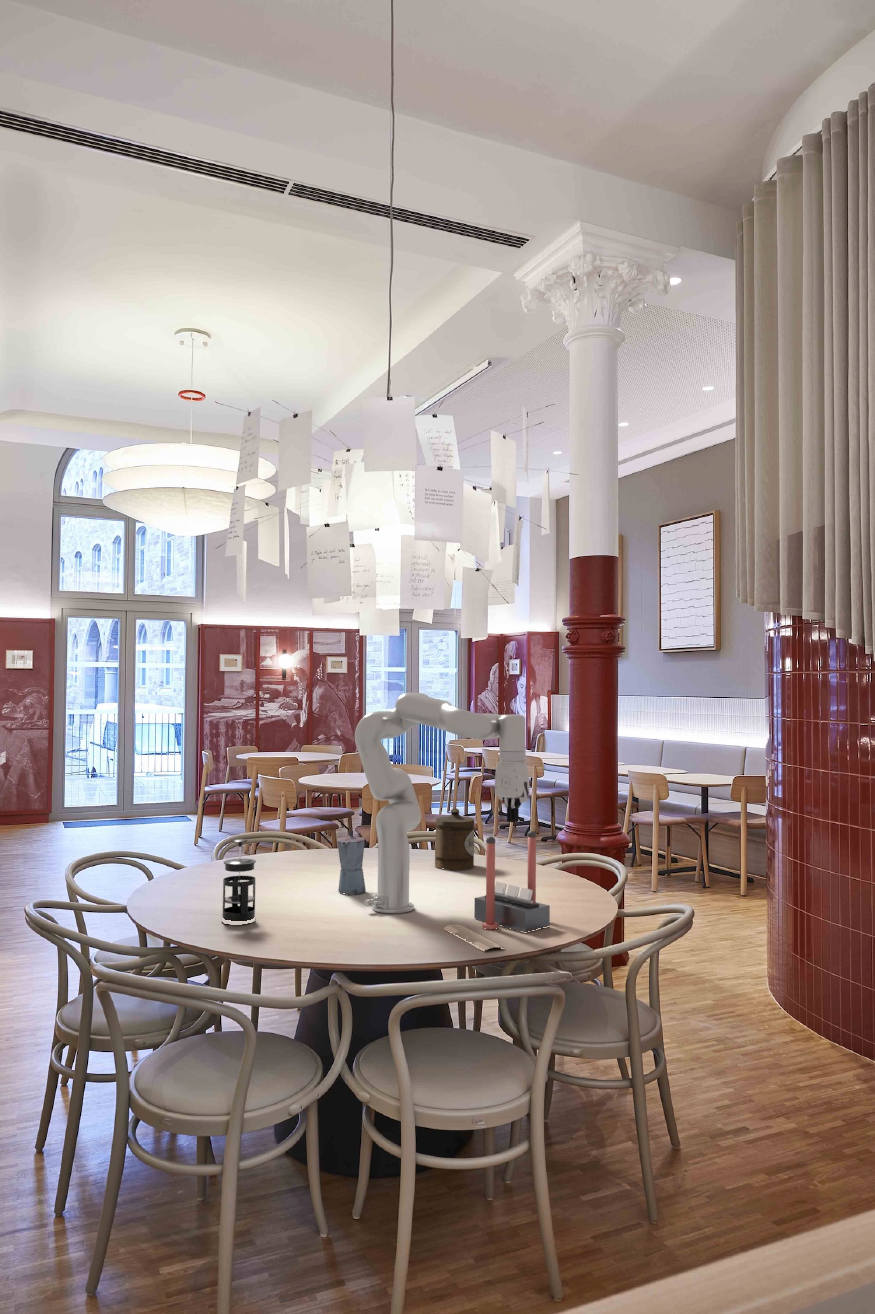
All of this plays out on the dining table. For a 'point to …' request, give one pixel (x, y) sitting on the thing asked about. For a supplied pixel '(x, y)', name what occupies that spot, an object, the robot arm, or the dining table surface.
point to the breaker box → (515, 913)
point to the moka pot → (351, 864)
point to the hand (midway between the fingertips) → (512, 821)
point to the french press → (242, 898)
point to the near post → (490, 885)
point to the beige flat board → (471, 937)
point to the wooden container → (454, 842)
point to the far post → (532, 863)
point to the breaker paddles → (513, 892)
